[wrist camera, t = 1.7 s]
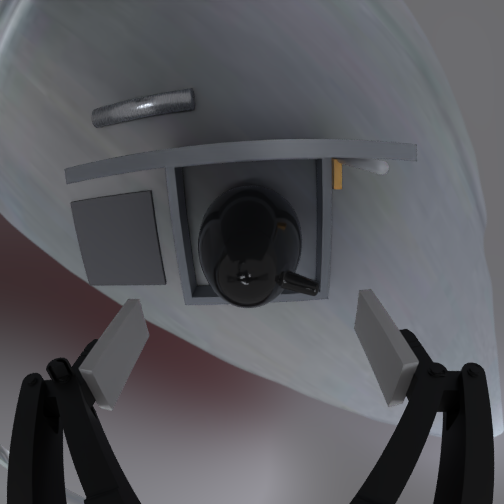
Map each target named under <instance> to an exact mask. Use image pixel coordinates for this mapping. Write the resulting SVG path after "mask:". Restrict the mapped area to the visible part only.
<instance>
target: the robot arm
mask: <svg viewBox="0 0 504 504" xmlns="http://www.w3.org/2000/svg"><path fill="white" fill-rule="evenodd" d="M354 329H355V331H356V334H357V336H358V338H359V340H360V342H361V345H362V347H363V349H364V351H365V353H366V356H367V358H368V360H369V362H370V365H371V367H372V369H373V372H374V374H375V376H376V378H377V381H378V383H379V385H380V388H381V390H382V393H383V395H384V397H385V400H386V402H387V405H388V407H390V406H394V405H399V404H403V401H404V399H405V397H406V396H407V398H408V400H409V402H408V404H407V407H406V409H405V411H404V413H403V415H402V417H401V419H400V421H399V423H398V425H397V427H396V429H395V431H394V433H393V435H392V437H391V439H390V441H389V443H388V444H387V446H386V448H385V450H384V451H383V453H382V455H381V457H380V458H379V460H378V462H377V464H376V465H375V467H374V468H373V470H372V471H371V473H370V475H369V476H368V478H367V479H366V481H365V482H364V484H363V485H362V487H361V488H360V490H359V491H358V493H357V494H356V495H355V497H354V498H353V500H352V501H351V502H350V504H395V503H396V501H397V500H398V498H399V496H400V494H401V493H402V491H403V489H404V487H405V485H406V483H407V481H408V479H409V477H410V475H411V473H412V471H413V469H414V467H415V465H416V463H417V461H418V458H419V456H420V454H421V452H422V449H423V447H424V445H425V442H426V439H427V437H428V435H429V432H430V429H431V427H432V424H433V421H434V419H435V416H436V413H437V412H443V428H442V444H441V455H440V465H439V472H438V480H437V486H436V492H435V497H434V502H433V504H492V503H493V488H494V441H493V426H492V416H491V407H490V400H489V393H488V386H487V381H486V375H485V371H484V369H483V368H482V367H481V366H480V365H478V364H476V363H467V364H465V365H464V366H463V367H462V369H461V371H447V369H446V368H445V367H444V366H443V365H442V364H439V363H435V362H433V361H432V360H431V358H430V357H429V355H428V354H427V352H426V351H425V349H424V348H423V346H422V345H421V343H420V342H419V341H418V339H417V338H416V336H415V335H414V334H413V333H412V332H411V331H409V330H408V329H403V330H399V329H398V328H397V326H396V325H395V323H394V322H393V320H392V319H391V317H390V316H389V314H388V313H387V311H386V310H385V309H384V307H383V306H382V304H381V303H380V301H379V300H378V298H377V297H376V296H375V294H374V293H373V291H372V290H371V289H369V290H359V297H358V305H357V313H356V320H355V327H354ZM148 337H149V333H148V329H147V326H146V322H145V319H144V315H143V311H142V307H141V303H140V299H128V300H127V302H126V303H125V304H124V306H123V307H122V308H121V310H120V311H119V312H118V314H117V315H116V316H115V318H114V319H113V320H112V322H111V323H110V324H109V326H108V327H107V329H106V330H105V331H104V333H103V334H102V336H101V337H100V338H99V340H98V339H94V340H93V341H92V342H90V343H89V344H88V345H87V346H86V348H85V349H84V351H83V352H82V353H81V356H79V357H78V359H77V360H76V362H75V363H74V365H73V366H72V367H71V365H70V363H69V361H68V360H67V359H65V358H57V359H54V360H52V361H51V362H50V363H49V364H48V365H47V368H46V370H47V372H48V374H49V376H50V378H51V379H52V380H43V378H42V376H41V375H40V374H38V373H32V374H29V375H27V376H26V377H25V378H24V380H23V382H22V386H21V390H20V394H19V398H18V403H17V408H16V413H15V419H14V424H13V430H12V437H11V445H10V453H9V464H8V481H7V504H67V502H66V493H65V482H64V466H63V429H64V433H65V437H66V440H67V444H68V447H69V450H70V454H71V457H72V460H73V463H74V466H75V469H76V471H77V474H78V477H79V479H80V482H81V485H82V487H83V490H84V492H85V495H86V499H85V500H84V504H141V503H140V501H139V499H138V498H137V496H136V494H135V493H134V491H133V489H132V487H131V486H130V484H129V482H128V480H127V478H126V477H125V475H124V473H123V471H122V469H121V467H120V465H119V463H118V461H117V459H116V457H115V455H114V453H113V451H112V449H111V446H110V444H109V442H108V440H107V437H106V435H105V433H104V431H103V428H102V426H101V423H100V421H99V419H98V416H97V413H96V411H95V409H94V407H93V404H94V402H95V401H96V402H97V404H98V406H99V407H100V408H102V409H107V410H113V408H114V406H115V404H116V402H117V399H118V397H119V395H120V393H121V391H122V389H123V387H124V385H125V383H126V381H127V379H128V377H129V375H130V373H131V371H132V369H133V367H134V365H135V362H136V360H137V359H138V357H139V355H140V353H141V351H142V349H143V347H144V345H145V343H146V341H147V339H148Z"/></svg>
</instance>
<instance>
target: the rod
mask: <svg viewBox="0 0 504 504" xmlns="http://www.w3.org/2000/svg"><path fill="white" fill-rule="evenodd" d="M194 108H195V101H194V92H193V89H192V88H191V89H184V90H178V91H172V92H166V93H160V94H155V95H150V96H145V97H141V98H136V99H132V100H128V101H124V102H119V103H116V104H112V105H108V106H104V107H101V108H97V109H94V110H93V112H92V122H93V125H94V126H95V127H96V128H99V127H103V126H107V125H111V124H115V123H119V122H123V121H128V120H133V119H137V118H142V117H148V116H153V115H158V114H164V113H170V112H177V111H184V110H191V109H194Z"/></svg>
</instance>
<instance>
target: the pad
mask: <svg viewBox="0 0 504 504" xmlns="http://www.w3.org/2000/svg"><path fill="white" fill-rule="evenodd" d="M71 208H72V213H73V219H74V224H75V229H76V233H77V238H78V242H79V247H80V251H81V255H82V259H83V263H84V267H85V270H86V274H87V277H88V281H89V284H90V285H166V279H165V274H164V268H163V263H162V257H161V252H160V246H159V240H158V234H157V227H156V221H155V214H154V207H153V199H152V191H143V192H135V193H127V194H120V195H113V196H106V197H100V198H93V199H87V200H81V201H75V202H71Z"/></svg>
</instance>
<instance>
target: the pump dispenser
mask: <svg viewBox="0 0 504 504" xmlns="http://www.w3.org/2000/svg"><path fill="white" fill-rule="evenodd" d="M301 250H302V234H301V227H300V223H299V220H298V217H297V215H296V213H295V211H294V209H293V208H292V206H291V205H290V204H289V203H288V201H287V200H286V199H285V198H283V197H282V196H281V195H279V194H278V193H276V192H275V191H273V190H270V189H268V188H265V187H261V186H241V187H236V188H233V189H231V190H229V191H227V192H225V193H223V194H222V195H220V196H219V197H218V198H217V199H216V200H215V201H214V202H213V203H212V204H211V205H210V207H209V208H208V210H207V211H206V213H205V215H204V217H203V220H202V223H201V227H200V231H199V238H198V253H199V259H200V263H201V267H202V270H203V272H204V275H205V277H206V279H207V281H208V283H209V284H210V286H211V288H212V289H213V290H214V292H215V293H216V294H217V295H218V296H219V297H220V298H222V299H223V300H224V301H226V302H227V303H229V304H231V305H234V306H237V307H241V308H255V307H260V306H263V305H265V304H267V303H269V302H271V301H273V300H274V299H275V298H276V297H278V296H279V295H280V294H281V293H282V292H283V290H284V289H286V290H290V291H294V292H298V293H302V294H306V295H310V296H316V295H317V294H318V292H319V289H320V284H319V283H318V282H316V281H313V280H311V279H309V278H306V277H304V276H301V275H299V274H296V273H295V272H296V270H297V267H298V264H299V261H300V256H301Z"/></svg>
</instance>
